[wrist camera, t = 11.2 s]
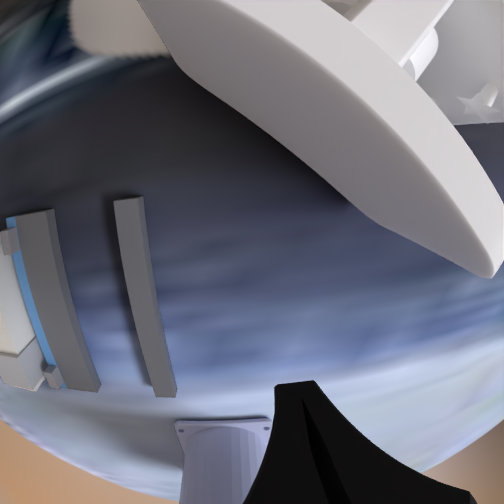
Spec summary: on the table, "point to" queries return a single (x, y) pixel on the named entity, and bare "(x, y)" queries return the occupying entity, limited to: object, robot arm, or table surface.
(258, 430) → the robot arm
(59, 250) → the board
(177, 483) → the table surface
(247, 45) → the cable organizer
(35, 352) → the tall beige pillar
